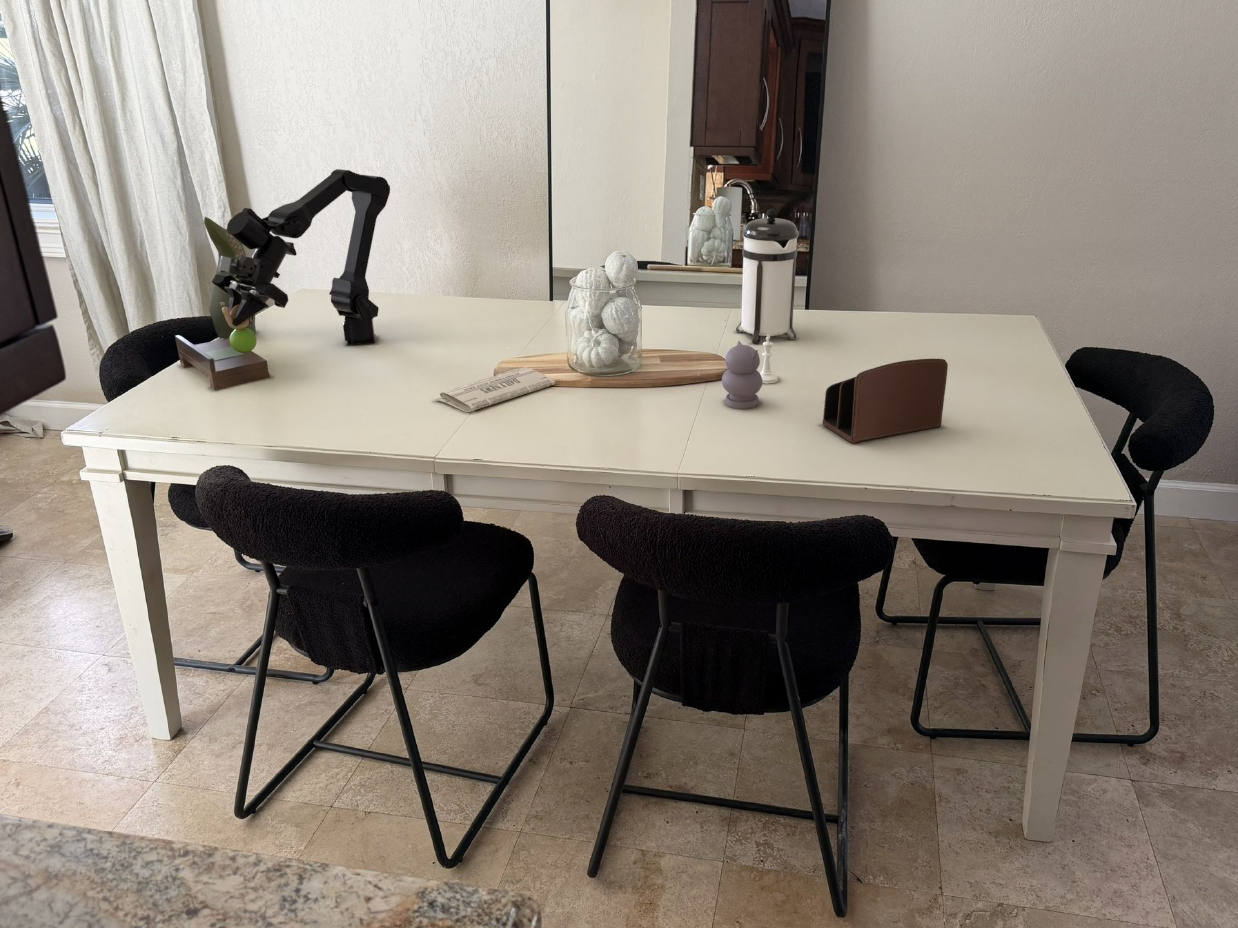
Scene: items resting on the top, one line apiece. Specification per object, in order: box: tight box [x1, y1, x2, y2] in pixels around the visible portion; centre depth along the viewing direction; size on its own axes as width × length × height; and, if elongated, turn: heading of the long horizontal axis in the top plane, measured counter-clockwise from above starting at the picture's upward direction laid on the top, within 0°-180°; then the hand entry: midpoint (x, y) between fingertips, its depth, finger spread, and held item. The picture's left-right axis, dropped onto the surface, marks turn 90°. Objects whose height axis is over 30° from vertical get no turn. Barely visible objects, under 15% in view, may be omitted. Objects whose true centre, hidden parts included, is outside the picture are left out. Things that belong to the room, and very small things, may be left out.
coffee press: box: [735, 208, 800, 345], centre depth 237 cm, size 17×16×30 cm
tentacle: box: [203, 216, 257, 339], centre depth 243 cm, size 9×12×30 cm
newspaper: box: [436, 366, 556, 413], centre depth 209 cm, size 23×12×2 cm, turn 135°
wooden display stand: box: [174, 334, 271, 391], centre depth 223 cm, size 12×22×7 cm, turn 39°
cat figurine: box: [721, 340, 764, 410], centre depth 199 cm, size 8×8×12 cm
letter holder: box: [822, 358, 949, 444], centre depth 187 cm, size 10×20×14 cm, turn 112°
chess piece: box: [759, 334, 779, 385], centre depth 212 cm, size 5×5×10 cm
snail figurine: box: [220, 302, 258, 353], centre depth 215 cm, size 5×6×12 cm
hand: (231, 324), depth 213 cm, fingers closed on snail figurine
